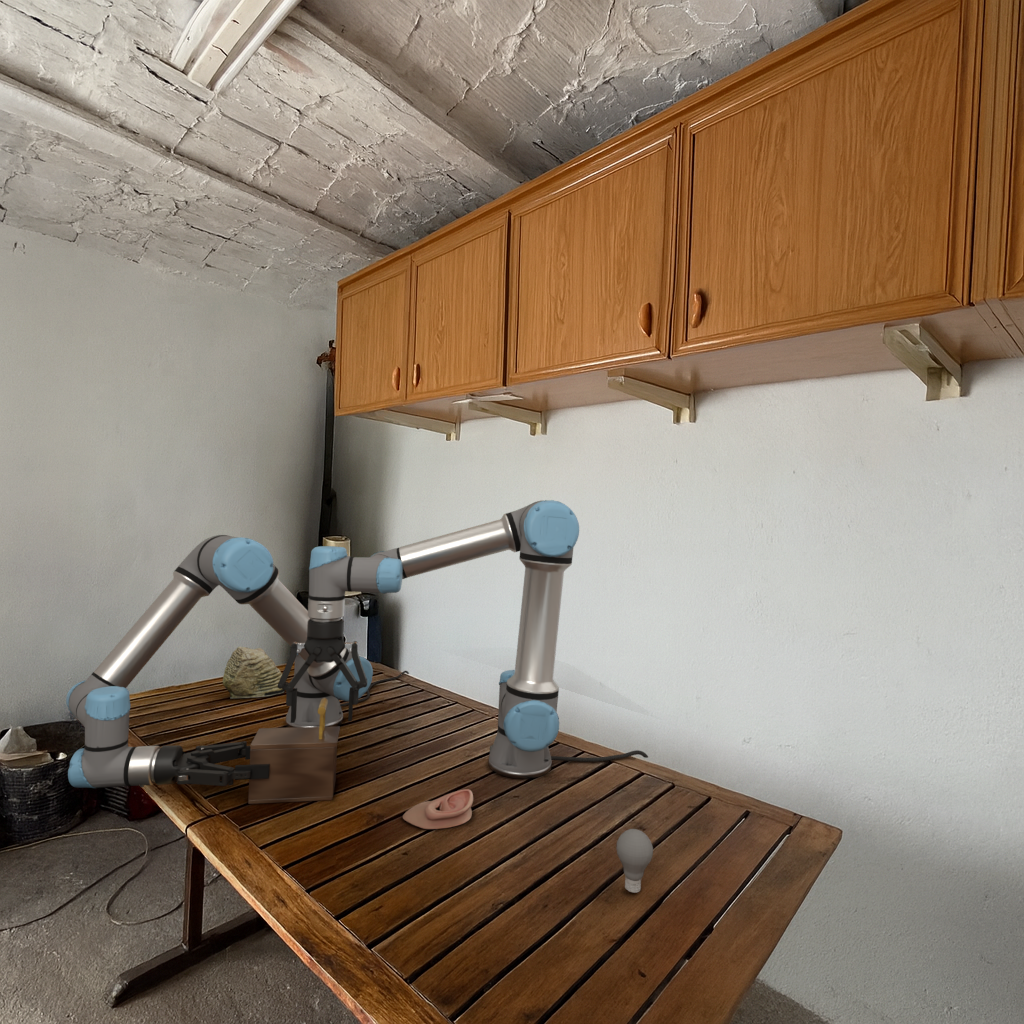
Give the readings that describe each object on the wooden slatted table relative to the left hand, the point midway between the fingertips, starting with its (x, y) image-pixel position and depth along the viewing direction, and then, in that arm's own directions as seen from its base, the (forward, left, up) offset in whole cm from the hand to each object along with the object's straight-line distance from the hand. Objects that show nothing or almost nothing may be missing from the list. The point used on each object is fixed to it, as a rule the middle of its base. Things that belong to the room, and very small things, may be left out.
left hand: (273, 761), depth 135 cm
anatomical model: (-17, +33, -7) cm, 37 cm away
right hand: (-7, +6, +9) cm, 13 cm away
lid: (-4, +3, +4) cm, 6 cm away
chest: (-3, +3, -7) cm, 8 cm away
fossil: (-31, -63, -7) cm, 70 cm away
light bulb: (-22, +74, -7) cm, 77 cm away
